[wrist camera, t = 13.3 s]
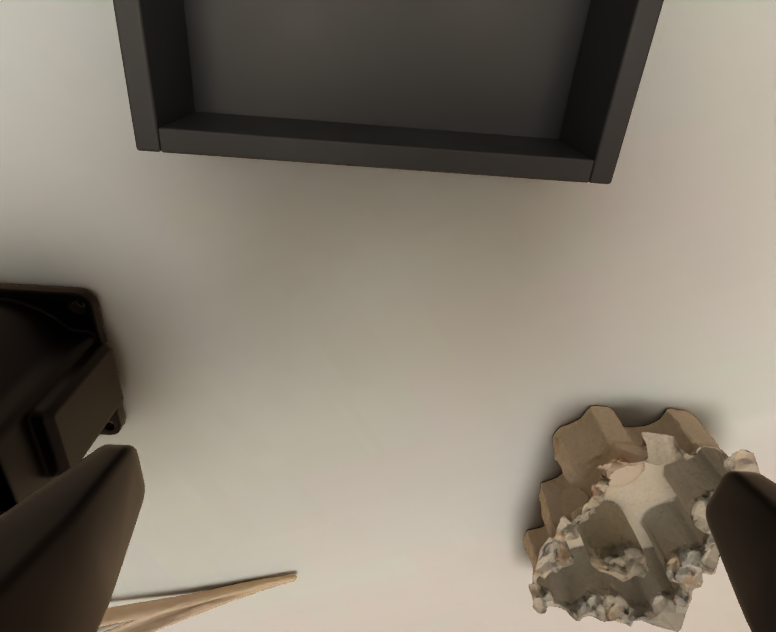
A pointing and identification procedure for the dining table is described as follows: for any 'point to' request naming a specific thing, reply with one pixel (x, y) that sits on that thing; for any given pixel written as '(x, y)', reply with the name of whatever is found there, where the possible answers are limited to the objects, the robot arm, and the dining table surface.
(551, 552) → the egg carton
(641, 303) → the dining table surface
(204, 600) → the animal skull
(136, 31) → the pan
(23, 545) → the robot arm
